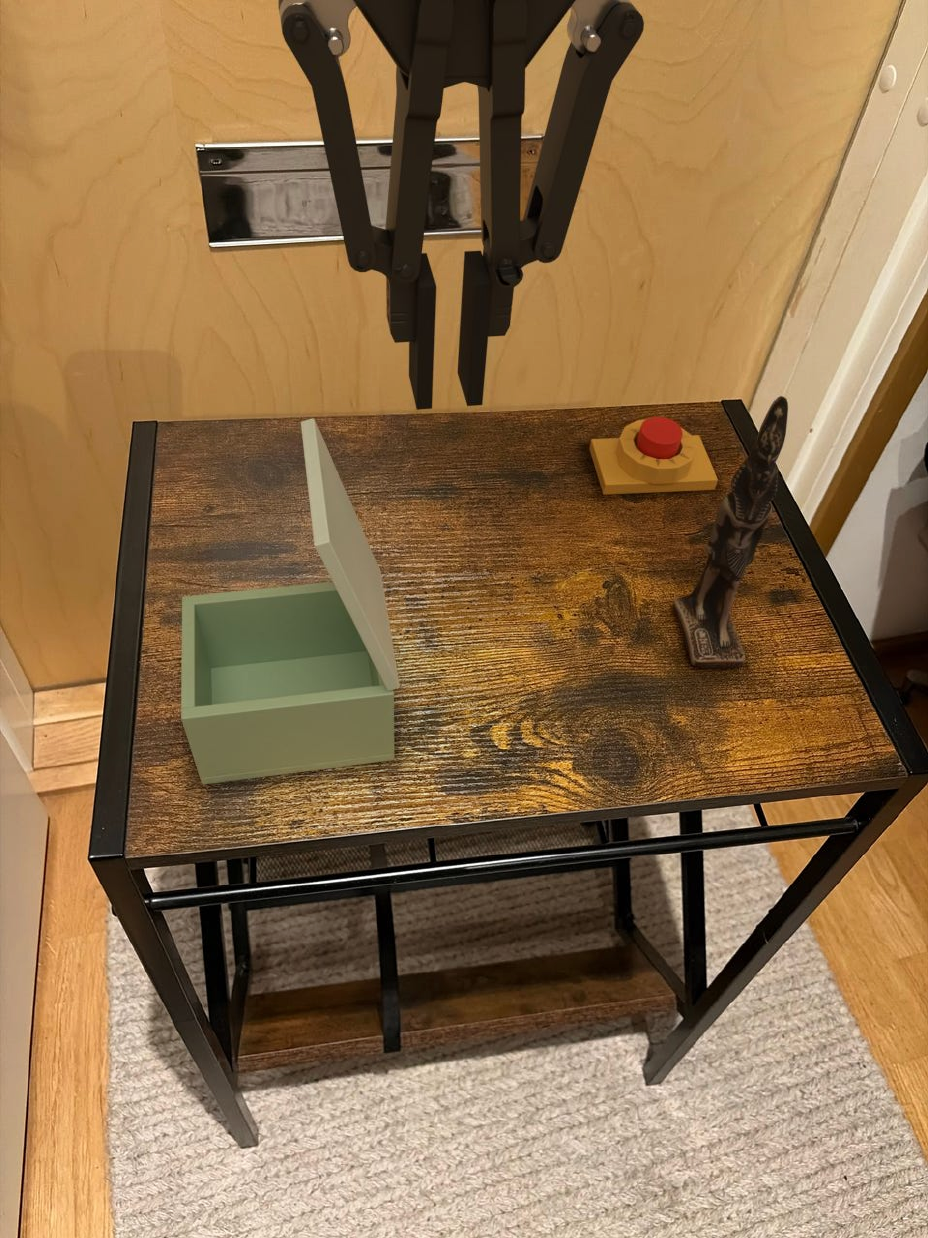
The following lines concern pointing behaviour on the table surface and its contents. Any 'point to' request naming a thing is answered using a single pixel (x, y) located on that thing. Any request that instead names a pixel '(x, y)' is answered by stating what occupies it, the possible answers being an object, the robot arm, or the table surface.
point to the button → (659, 438)
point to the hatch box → (279, 685)
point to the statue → (733, 550)
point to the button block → (650, 465)
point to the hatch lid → (347, 554)
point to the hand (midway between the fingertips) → (445, 389)
